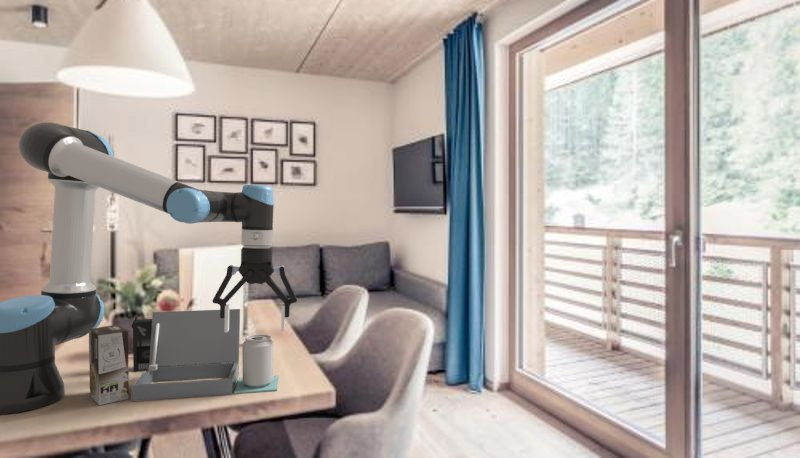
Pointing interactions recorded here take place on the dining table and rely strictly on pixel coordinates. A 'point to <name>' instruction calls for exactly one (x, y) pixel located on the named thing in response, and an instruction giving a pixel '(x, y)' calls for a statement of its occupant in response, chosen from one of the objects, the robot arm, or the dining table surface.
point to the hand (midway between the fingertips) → (255, 330)
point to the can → (257, 360)
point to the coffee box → (108, 364)
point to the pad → (245, 389)
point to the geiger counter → (141, 343)
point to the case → (190, 355)
